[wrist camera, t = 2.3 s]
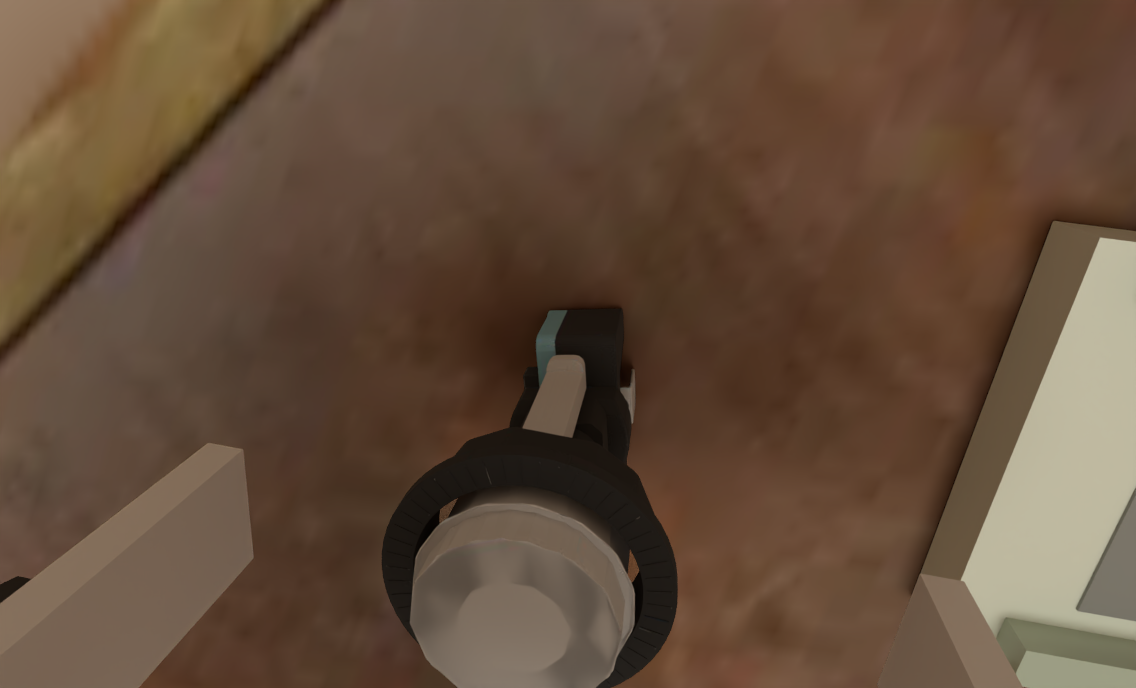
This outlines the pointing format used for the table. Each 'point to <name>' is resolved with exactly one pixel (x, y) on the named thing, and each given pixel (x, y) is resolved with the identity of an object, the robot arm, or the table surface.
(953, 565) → the plate
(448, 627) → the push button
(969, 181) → the table surface
